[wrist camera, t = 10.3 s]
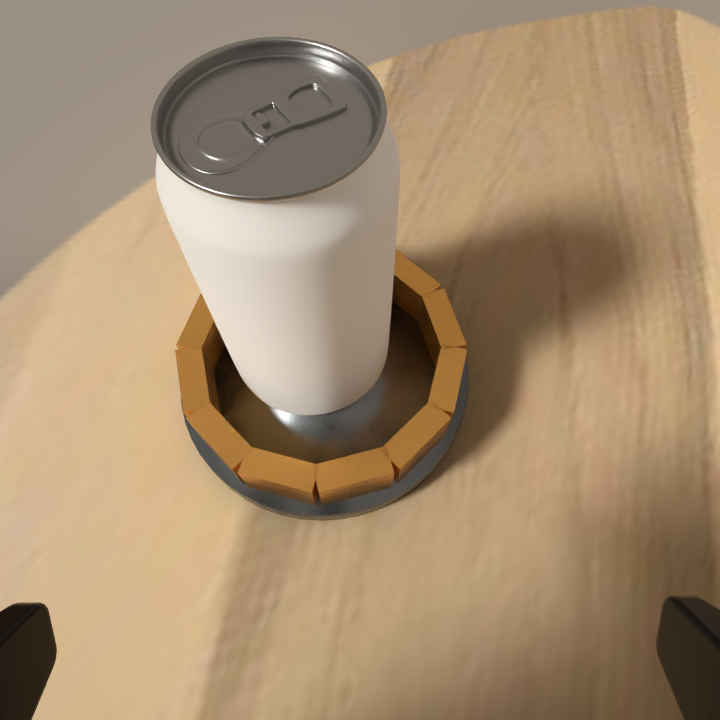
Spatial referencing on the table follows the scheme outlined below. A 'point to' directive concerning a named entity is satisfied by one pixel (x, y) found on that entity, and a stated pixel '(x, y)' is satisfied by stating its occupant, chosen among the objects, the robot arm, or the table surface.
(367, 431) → the ring plate
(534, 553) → the table surface
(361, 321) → the can
